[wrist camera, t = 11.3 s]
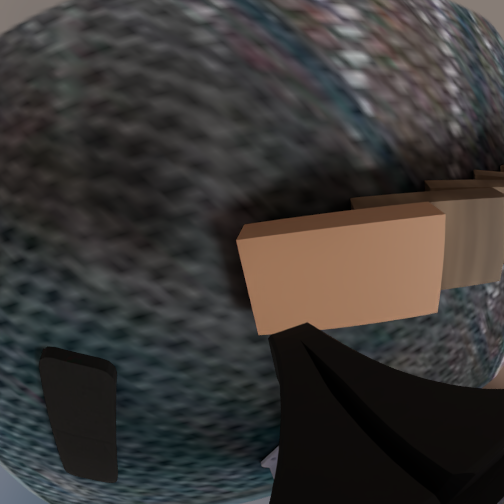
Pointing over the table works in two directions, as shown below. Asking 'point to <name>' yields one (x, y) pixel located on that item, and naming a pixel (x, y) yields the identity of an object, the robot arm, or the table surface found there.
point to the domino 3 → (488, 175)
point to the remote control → (82, 411)
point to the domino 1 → (344, 266)
